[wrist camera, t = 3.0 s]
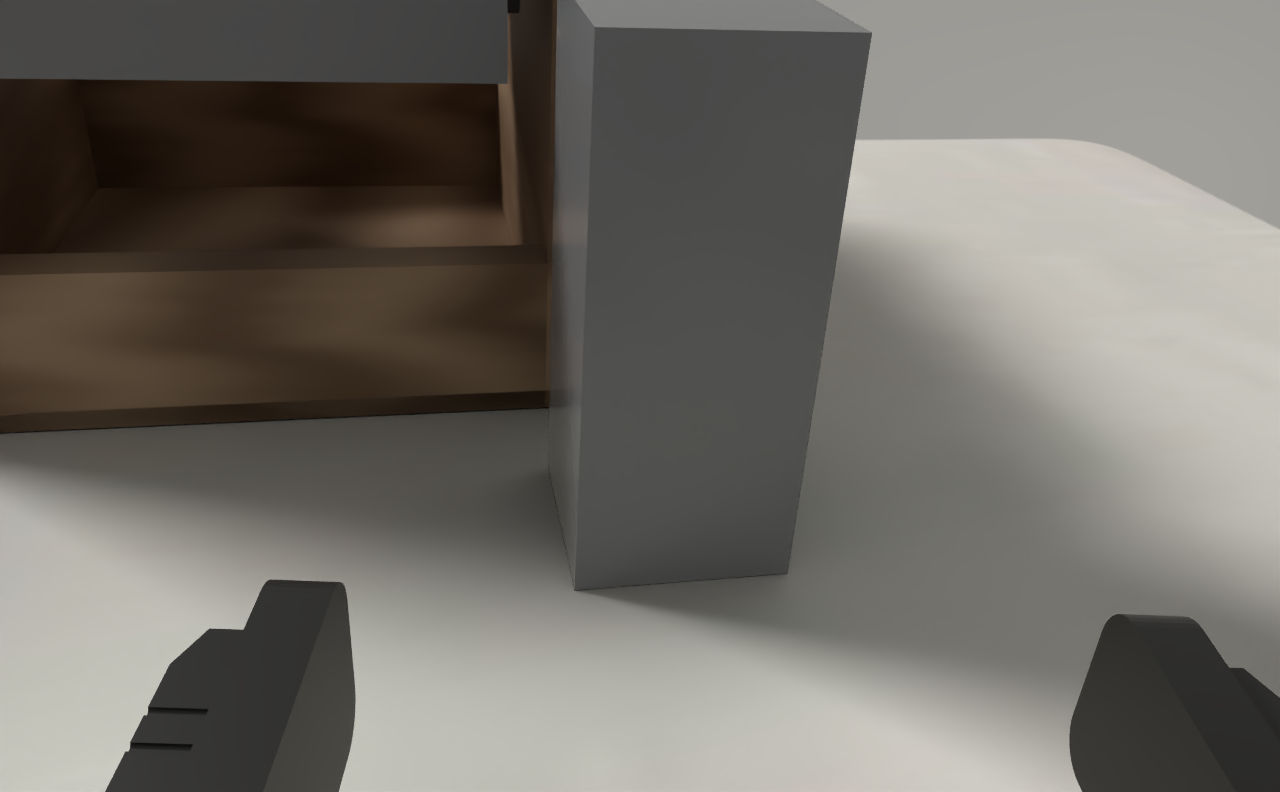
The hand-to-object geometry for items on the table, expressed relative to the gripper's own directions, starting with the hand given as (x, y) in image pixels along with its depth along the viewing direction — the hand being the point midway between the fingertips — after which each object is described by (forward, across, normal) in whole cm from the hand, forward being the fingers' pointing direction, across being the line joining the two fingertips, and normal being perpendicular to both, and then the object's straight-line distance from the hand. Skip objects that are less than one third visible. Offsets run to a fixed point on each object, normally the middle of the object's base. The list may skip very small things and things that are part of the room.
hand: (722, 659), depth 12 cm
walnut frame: (+23, +11, +6) cm, 26 cm away
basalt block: (+11, 0, +6) cm, 13 cm away
